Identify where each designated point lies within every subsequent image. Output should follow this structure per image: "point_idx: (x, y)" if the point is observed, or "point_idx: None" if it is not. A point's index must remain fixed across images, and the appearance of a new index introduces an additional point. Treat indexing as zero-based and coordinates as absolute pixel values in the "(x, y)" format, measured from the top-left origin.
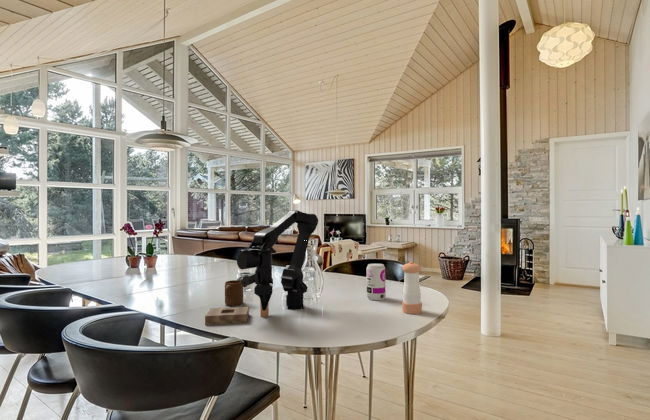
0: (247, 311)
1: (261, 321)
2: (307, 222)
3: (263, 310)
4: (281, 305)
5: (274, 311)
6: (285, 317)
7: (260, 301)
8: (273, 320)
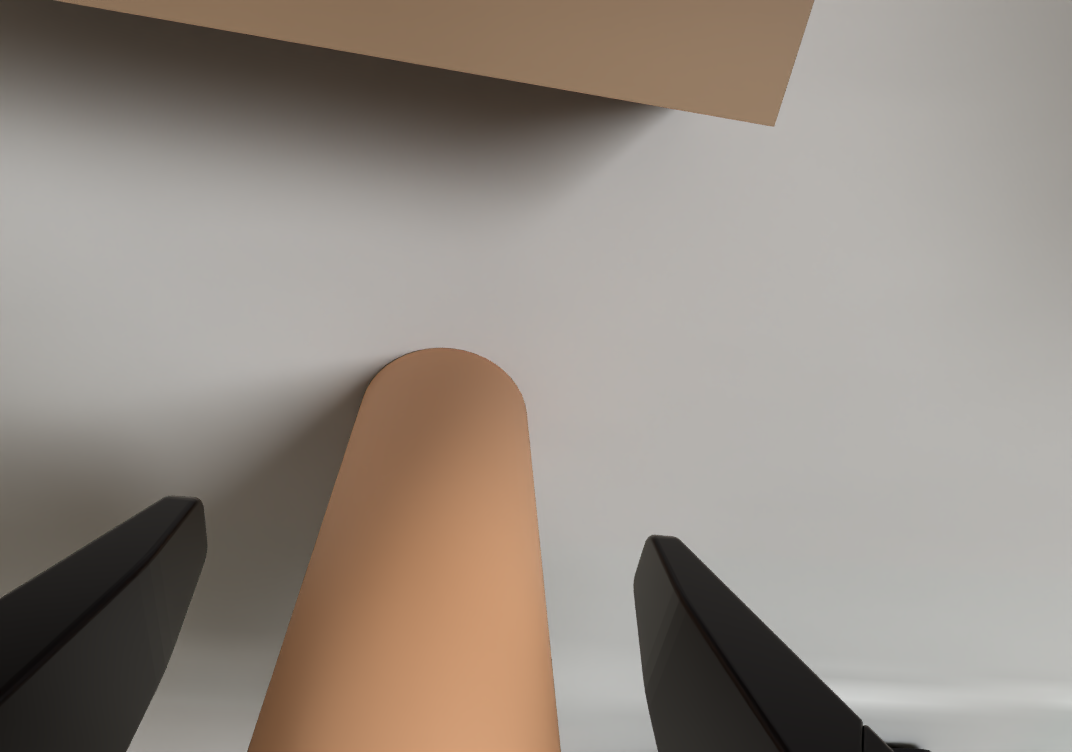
0: (230, 28)
1: (65, 338)
2: None
3: (178, 506)
4: (981, 685)
5: None
6: None
7: (373, 616)
8: None
